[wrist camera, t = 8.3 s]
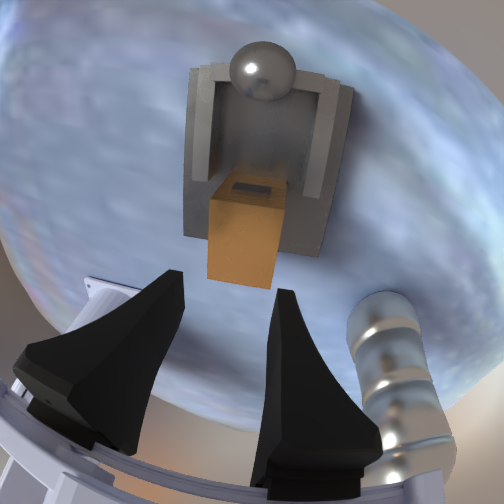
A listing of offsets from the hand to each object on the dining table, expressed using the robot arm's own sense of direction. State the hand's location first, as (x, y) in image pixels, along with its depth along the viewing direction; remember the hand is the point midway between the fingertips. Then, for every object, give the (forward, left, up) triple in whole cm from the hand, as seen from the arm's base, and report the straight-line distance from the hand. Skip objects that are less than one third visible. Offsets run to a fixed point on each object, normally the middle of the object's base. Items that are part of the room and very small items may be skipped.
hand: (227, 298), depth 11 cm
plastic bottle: (-8, -12, -10) cm, 17 cm away
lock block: (0, 0, -9) cm, 9 cm away
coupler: (+4, 0, -9) cm, 10 cm away
